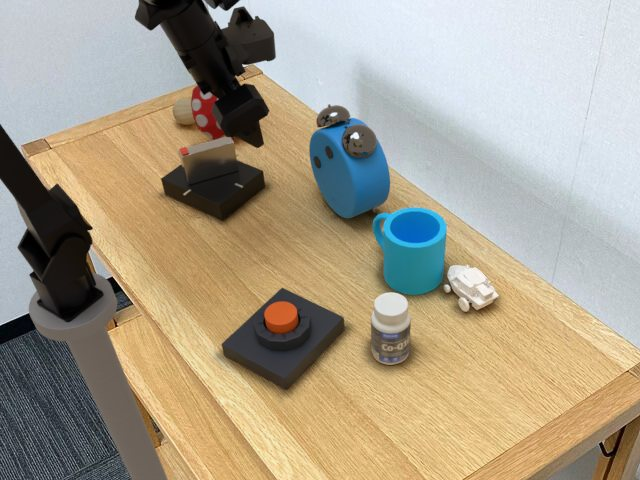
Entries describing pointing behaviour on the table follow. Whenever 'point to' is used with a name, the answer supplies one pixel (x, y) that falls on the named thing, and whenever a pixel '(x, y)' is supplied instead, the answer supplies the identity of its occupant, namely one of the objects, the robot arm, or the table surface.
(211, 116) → the decorative mushroom
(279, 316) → the button
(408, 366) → the table surface
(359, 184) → the alarm clock
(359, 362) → the table surface
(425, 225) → the mug
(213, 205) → the base
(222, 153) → the tap handle
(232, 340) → the button box
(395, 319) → the pill bottle
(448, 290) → the toy car
